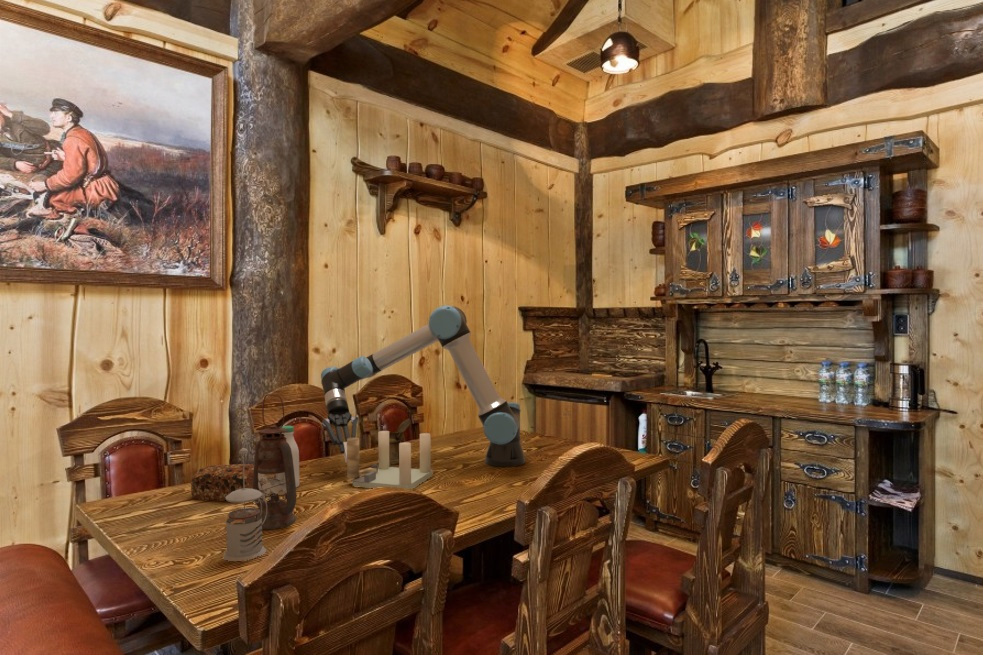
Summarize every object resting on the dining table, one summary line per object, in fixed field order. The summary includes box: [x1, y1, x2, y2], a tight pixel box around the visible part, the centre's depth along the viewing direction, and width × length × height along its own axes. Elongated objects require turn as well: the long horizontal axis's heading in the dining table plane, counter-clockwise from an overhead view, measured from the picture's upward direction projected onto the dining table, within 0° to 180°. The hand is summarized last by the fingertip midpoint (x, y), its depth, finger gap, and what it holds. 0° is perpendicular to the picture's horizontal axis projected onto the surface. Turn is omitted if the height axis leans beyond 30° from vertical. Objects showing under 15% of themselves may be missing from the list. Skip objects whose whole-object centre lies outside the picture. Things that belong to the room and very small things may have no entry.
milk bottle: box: [274, 425, 300, 491], centre depth 194 cm, size 8×8×20 cm
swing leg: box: [346, 437, 379, 480], centre depth 200 cm, size 12×4×13 cm, turn 141°
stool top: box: [350, 430, 434, 491], centre depth 200 cm, size 21×21×15 cm
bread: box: [190, 463, 264, 502], centre depth 185 cm, size 19×11×10 cm, turn 80°
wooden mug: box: [389, 417, 411, 466], centre depth 226 cm, size 9×14×18 cm, turn 58°
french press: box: [222, 447, 267, 562], centre depth 140 cm, size 10×12×25 cm
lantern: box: [253, 393, 297, 530], centre depth 160 cm, size 11×16×35 cm
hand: (348, 460), depth 199 cm, fingers closed
